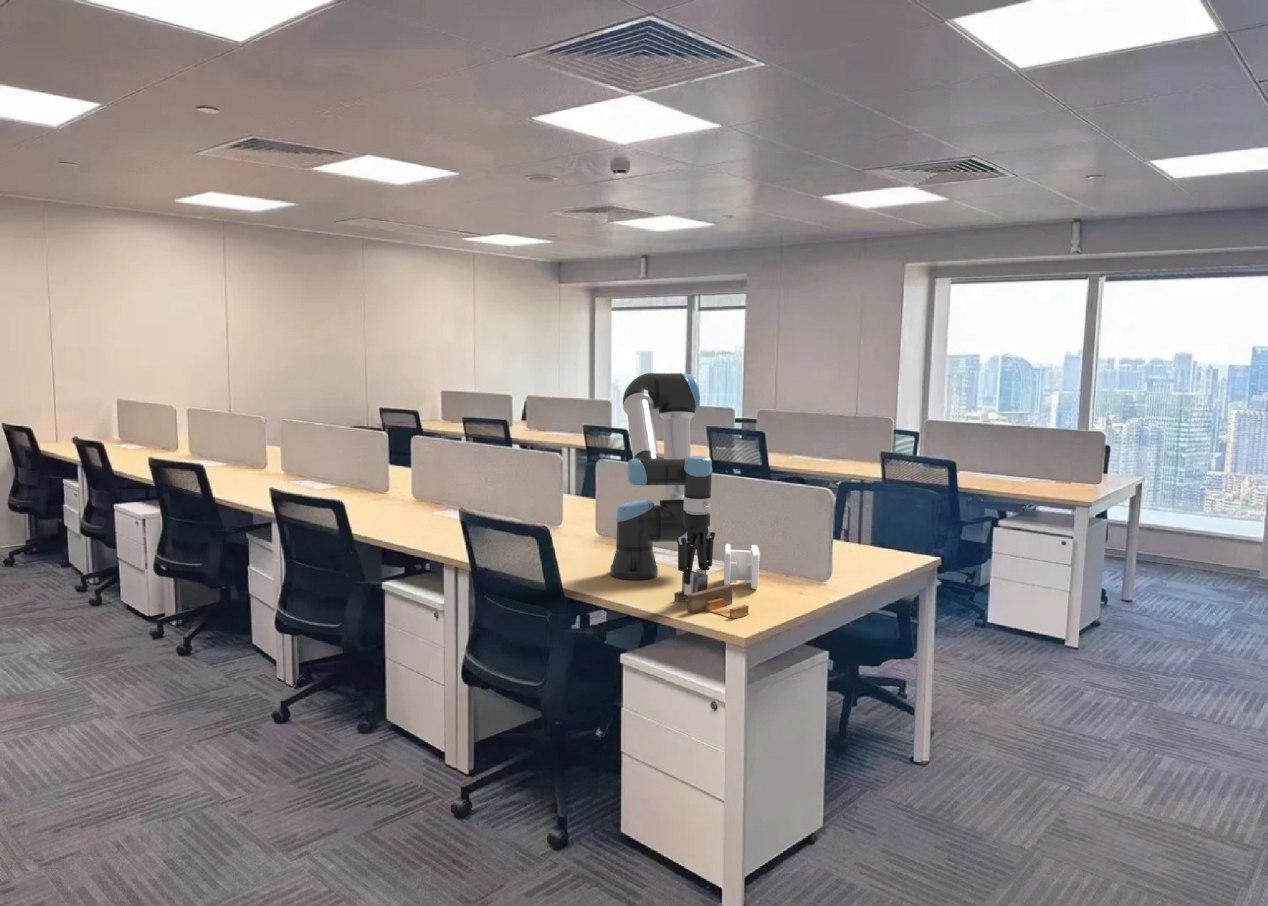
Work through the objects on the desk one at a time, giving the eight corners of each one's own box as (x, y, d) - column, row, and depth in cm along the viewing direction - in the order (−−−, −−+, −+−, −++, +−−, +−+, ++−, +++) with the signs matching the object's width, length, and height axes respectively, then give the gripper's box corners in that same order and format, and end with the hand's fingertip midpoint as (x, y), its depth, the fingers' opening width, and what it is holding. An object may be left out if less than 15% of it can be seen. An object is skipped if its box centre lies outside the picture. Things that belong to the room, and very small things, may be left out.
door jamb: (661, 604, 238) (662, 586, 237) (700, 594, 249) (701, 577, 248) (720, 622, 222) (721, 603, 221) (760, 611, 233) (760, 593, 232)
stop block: (681, 593, 241) (682, 573, 240) (691, 591, 243) (692, 570, 243) (697, 598, 236) (697, 577, 236) (707, 596, 239) (707, 575, 238)
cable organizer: (723, 578, 269) (724, 542, 268) (757, 579, 268) (758, 543, 266) (723, 590, 254) (724, 552, 253) (759, 592, 253) (760, 553, 252)
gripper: (685, 517, 228) (682, 602, 231) (727, 510, 240) (724, 591, 243) (665, 513, 234) (663, 596, 237) (707, 506, 245) (705, 585, 248)
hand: (694, 593), depth 240 cm, fingers closed on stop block, 4 cm apart
